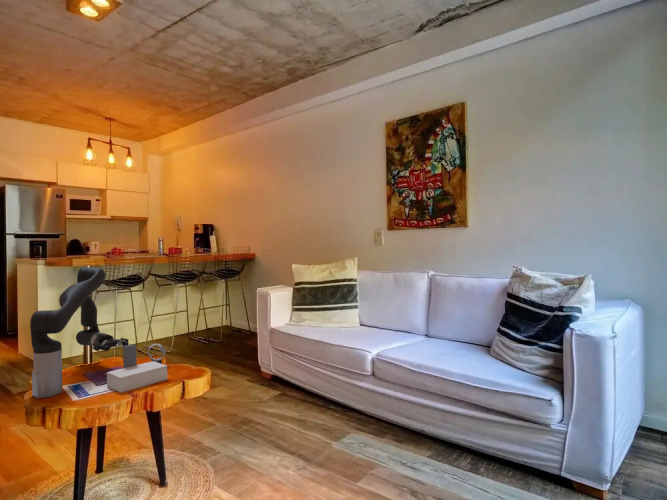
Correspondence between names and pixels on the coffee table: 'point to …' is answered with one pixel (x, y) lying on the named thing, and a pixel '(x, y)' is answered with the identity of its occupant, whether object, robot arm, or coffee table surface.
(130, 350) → the dark grey upright bracket
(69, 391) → the coffee table surface
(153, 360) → the watch
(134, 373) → the light grey rectangular box
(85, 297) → the robot arm
